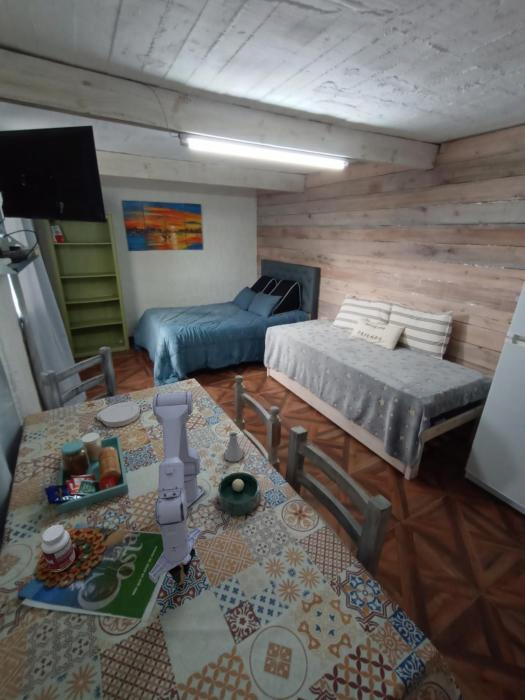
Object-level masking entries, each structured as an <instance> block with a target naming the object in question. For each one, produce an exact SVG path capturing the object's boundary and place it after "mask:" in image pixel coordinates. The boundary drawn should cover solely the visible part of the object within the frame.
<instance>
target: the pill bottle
mask: <svg viewBox="0 0 525 700" xmlns="http://www.w3.org/2000/svg"><path fill="white" fill-rule="evenodd" d="M41 535H42V536H41V539H42V542H41V551H42V554H43V556H44V559H45V561H46V565H47V567H48V569H49V568H51V569H61V568H63V569H61V570H58V571H52V570H51V571H50V572H52V573H60V572H63V571H65V570H67V569H68V568H69V567H70V566H71V565H72V564H73V563H74V561H75V558H76V552H75V549H74V545H73V542H72V538H71V535H70V533H69V531H68V530H65V528H64V526H63V525H62V524H54V525H52V526H50V527H48V528H47V529H46V530H45V531H44V532H43V533H42V534H41ZM64 567H65V568H64Z"/></svg>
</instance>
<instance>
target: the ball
mask: <svg viewBox="0 0 525 700" xmlns="http://www.w3.org/2000/svg"><path fill="white" fill-rule="evenodd" d="M232 488H233V490H234V491H236V492H240V491H242V489H243V488H244V483H243V481H242V480H241V479H236V480H234V481H233V483H232Z"/></svg>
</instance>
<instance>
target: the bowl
mask: <svg viewBox="0 0 525 700" xmlns="http://www.w3.org/2000/svg"><path fill="white" fill-rule="evenodd" d="M236 479H241V480H242V481H243V483H244V488H243V489H242V491H240V492H236V491H234V490H233V488H232V483H233V481H234V480H236ZM217 487H218V488H217V492H218V493H217V495H218V496H217V497H218V504H219V506H220V508H221V509H222V511H223V512H225V513H226V514H228V515H231V516H239V517H240V516H245V515H248V514H250V513H251V512H253V511H254V510H255V509H256V508H257V507H258V504H259V502H260V484H259V481H258V479H257V478H256V477H255V476H254V475H252V474H250V473H247V472H244V471H243V472H242V471H241V472H240V471H239V472H233V473H229V474H228V475H226V476H224V477H223V478H222V479H221V480H220V482H219V483H218V486H217Z"/></svg>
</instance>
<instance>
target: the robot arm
mask: <svg viewBox="0 0 525 700" xmlns="http://www.w3.org/2000/svg"><path fill="white" fill-rule="evenodd" d="M193 401H194V400H193V392H191V391H190V390H188V391H180V392H179V391H178V392H165V393H159V392H158V393H155V394H154V396H153V397H152V412H153V413H152V414H153V415H154V417H155V418H156V421H157V423H158V424H160V425H161V428H162V444H163V460H162V461H161V462H160V464H159V465H158V490H157V491H158V492H157V493H158V494H157V498H156V499H155V504H154V520H155V524H156V526H157V529H158V530H159V531H160V534H161V541H162V548H163V551H162V553H161V554H160V556H159V558H158V559H157V561H156V563H155V564H154V566H153V568H152V569H151V570H150V571H149V572H148V578H149V580H150V581H151V582H152V583H153V584H157V583H158V582H159V577H161V576H162V575H164V574H165V573H167V572H168V573H169V574H170V576H171V579H172V580H173V581H174V582H175V583H176V584H178V583H179V582H180V581H181V578H180V572H181V569H182V568H181V567H180V566H179V564H181V563H183V566H184V574H185V576H187V575H188V574H189V570H190V567H191V563H192V561H193V559H194V557H195V555H196V549H195V548H194V546H195V545H196V542H197V540H198V539H201V538H202V537H203V530H201V528H199V527H198V526H195V527H194V528H193V529H192V530H189V531H188V525H187V514H188V508H189V507H190V506H191V505H192V504H193V503H194V502H196V501H197V500H198V499H200V497H201V496H203V494H204V493H205V492H204V490H202V489H201V488H200V487H199V486H198V485H199V484H198V475H199V474H200V473H201V456H200V454H199V453H200V452H199V451H198V449H197V448H195V447H191V446H190V443H189V442H190V441H189V435H188V433H189V432H188V425H187V422H188V421H189V420H190V416H191V415H192V414H193V411H194V402H193Z"/></svg>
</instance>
